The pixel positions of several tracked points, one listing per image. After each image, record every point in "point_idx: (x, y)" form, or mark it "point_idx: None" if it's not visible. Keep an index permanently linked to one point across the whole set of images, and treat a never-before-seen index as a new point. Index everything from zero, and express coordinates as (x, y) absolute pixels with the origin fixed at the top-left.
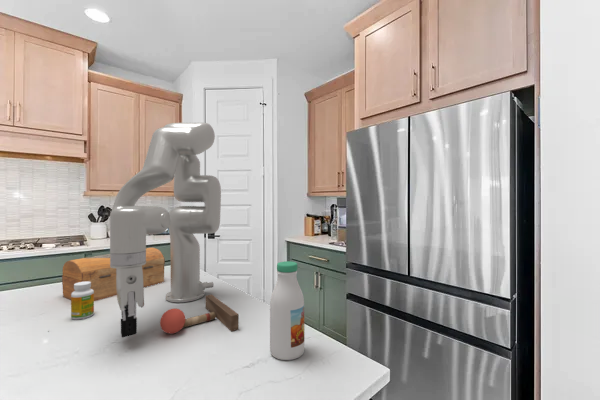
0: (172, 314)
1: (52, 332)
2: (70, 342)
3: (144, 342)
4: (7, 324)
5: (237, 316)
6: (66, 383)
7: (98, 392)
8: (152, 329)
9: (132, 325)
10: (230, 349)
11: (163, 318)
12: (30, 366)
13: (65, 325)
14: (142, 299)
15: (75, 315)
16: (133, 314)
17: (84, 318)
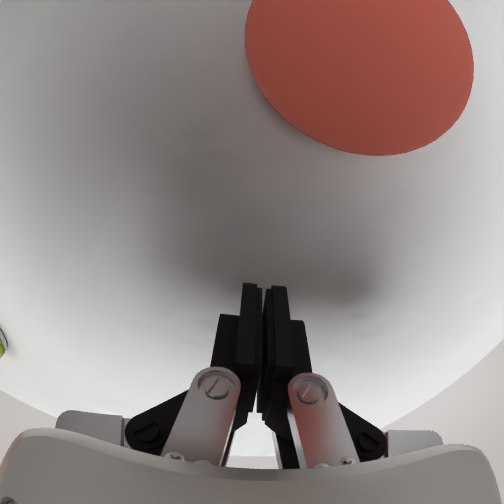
0: (471, 81)
1: (67, 394)
2: (145, 399)
3: (342, 239)
4: (26, 402)
5: None
6: (388, 410)
7: (470, 366)
8: (182, 152)
9: (307, 353)
10: None
11: (412, 146)
12: (244, 444)
13: (33, 368)
14: (498, 501)
15: (2, 354)
16: (438, 443)
17: (1, 332)
